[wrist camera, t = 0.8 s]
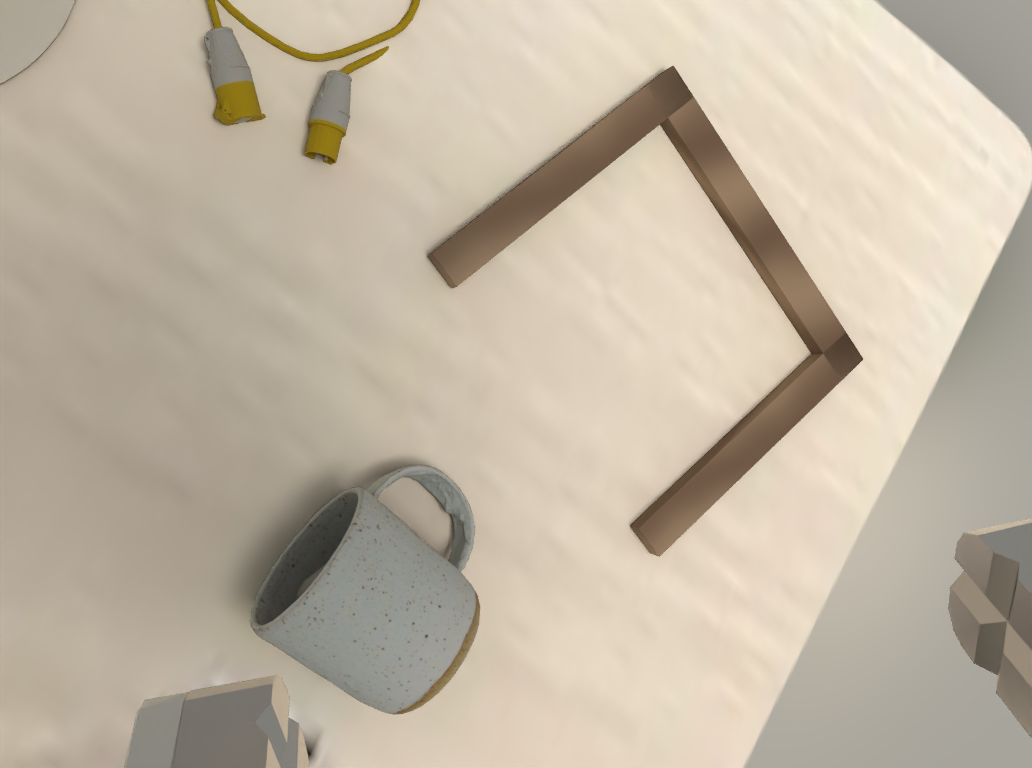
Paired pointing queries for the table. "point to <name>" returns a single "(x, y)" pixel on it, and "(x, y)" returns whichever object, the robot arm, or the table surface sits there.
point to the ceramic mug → (374, 597)
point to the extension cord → (335, 92)
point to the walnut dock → (755, 234)
